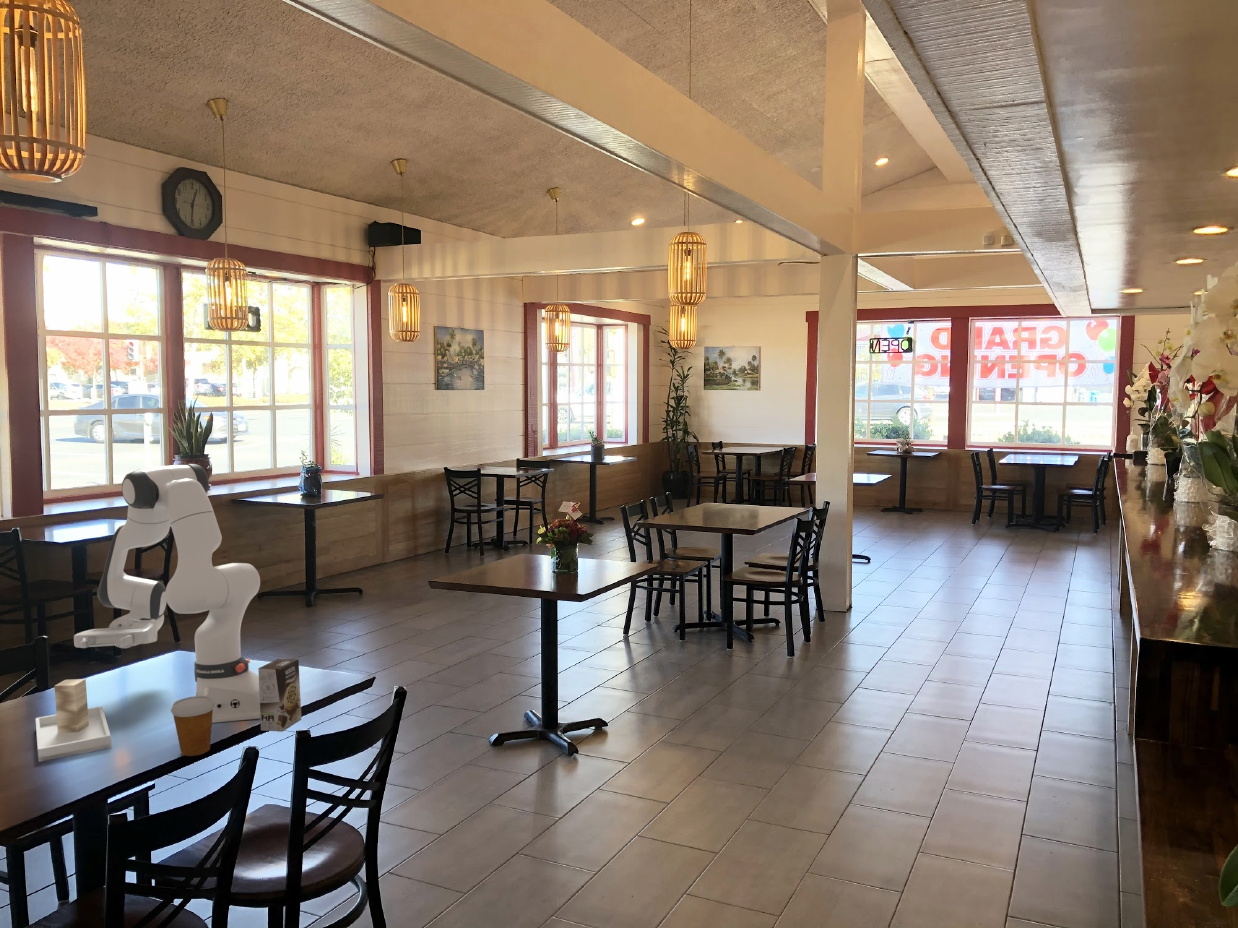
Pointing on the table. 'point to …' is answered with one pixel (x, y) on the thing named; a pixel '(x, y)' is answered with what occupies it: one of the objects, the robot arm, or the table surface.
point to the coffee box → (279, 694)
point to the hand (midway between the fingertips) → (100, 643)
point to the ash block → (71, 705)
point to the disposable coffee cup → (193, 724)
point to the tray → (72, 736)
